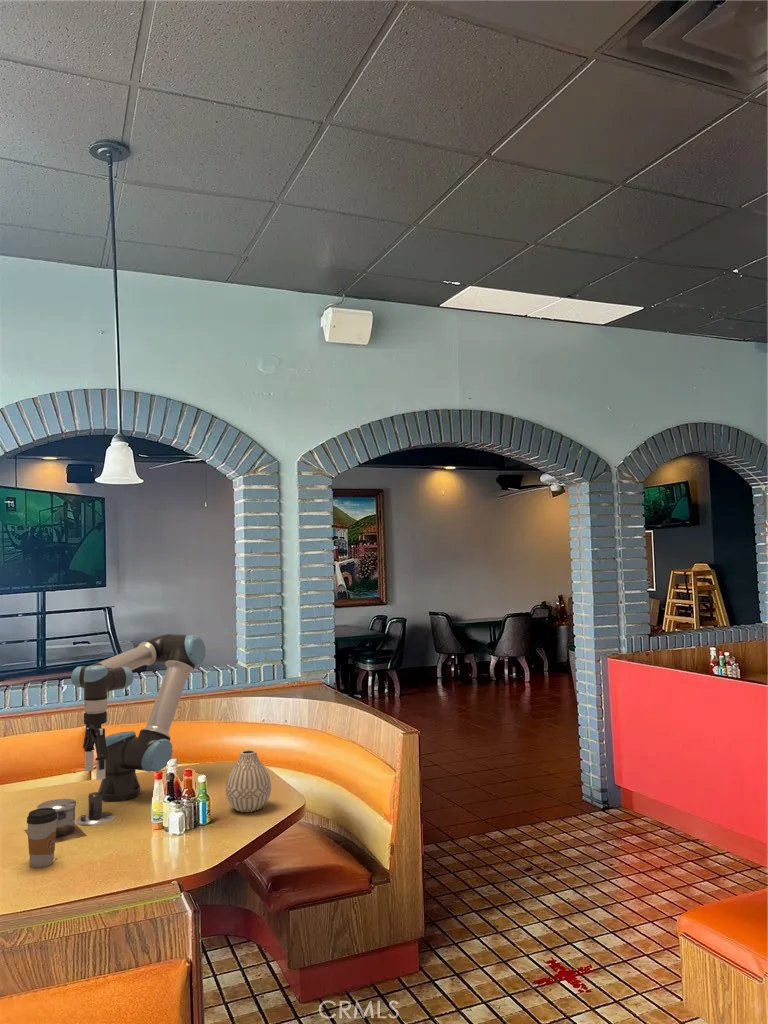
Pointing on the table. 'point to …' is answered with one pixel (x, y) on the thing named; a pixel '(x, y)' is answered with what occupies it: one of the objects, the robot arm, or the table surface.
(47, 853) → the coffee cup
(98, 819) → the lid
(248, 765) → the vase
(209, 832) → the table surface
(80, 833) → the walnut board
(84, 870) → the table surface
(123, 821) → the table surface
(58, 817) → the cooker pot
